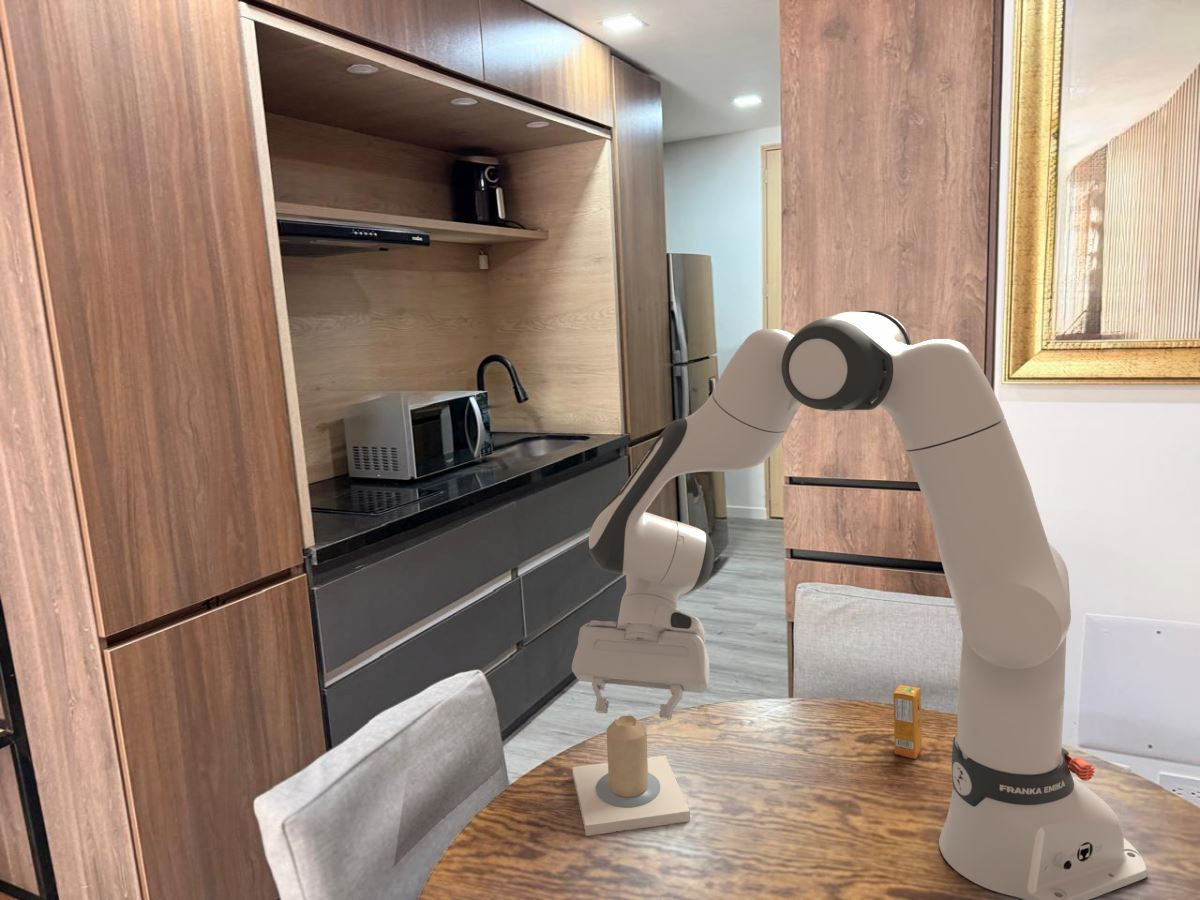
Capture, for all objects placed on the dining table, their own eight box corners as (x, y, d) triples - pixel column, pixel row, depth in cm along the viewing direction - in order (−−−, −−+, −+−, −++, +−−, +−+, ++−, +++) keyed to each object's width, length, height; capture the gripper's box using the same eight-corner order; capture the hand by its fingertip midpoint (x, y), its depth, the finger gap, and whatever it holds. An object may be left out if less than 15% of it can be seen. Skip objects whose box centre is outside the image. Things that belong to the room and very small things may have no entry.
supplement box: (898, 743, 124) (899, 682, 122) (921, 750, 122) (923, 688, 120) (891, 753, 121) (893, 691, 120) (915, 760, 119) (917, 697, 118)
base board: (665, 764, 121) (665, 754, 121) (690, 821, 108) (689, 809, 107) (573, 776, 119) (572, 765, 119) (585, 836, 106) (585, 824, 105)
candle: (645, 799, 110) (642, 731, 108) (605, 796, 111) (602, 729, 109) (651, 776, 115) (648, 711, 114) (613, 774, 116) (610, 709, 115)
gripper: (576, 611, 123) (557, 700, 116) (709, 620, 117) (699, 715, 110) (587, 627, 128) (570, 714, 121) (715, 637, 122) (706, 729, 114)
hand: (632, 715), depth 115 cm, fingers open, 8 cm apart
